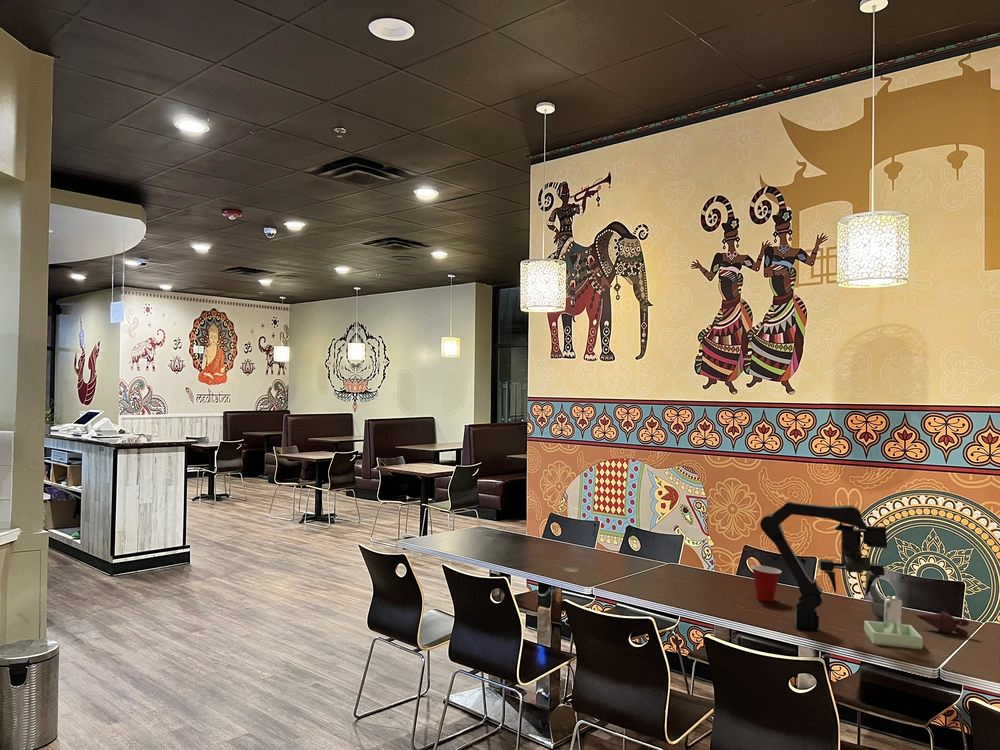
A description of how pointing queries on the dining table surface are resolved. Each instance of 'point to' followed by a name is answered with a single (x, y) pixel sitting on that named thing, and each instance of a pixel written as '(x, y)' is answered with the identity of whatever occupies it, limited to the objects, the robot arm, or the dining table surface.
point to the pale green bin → (893, 635)
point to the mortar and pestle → (877, 604)
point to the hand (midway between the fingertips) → (850, 593)
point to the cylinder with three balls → (892, 615)
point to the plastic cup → (765, 582)
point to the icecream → (945, 623)
